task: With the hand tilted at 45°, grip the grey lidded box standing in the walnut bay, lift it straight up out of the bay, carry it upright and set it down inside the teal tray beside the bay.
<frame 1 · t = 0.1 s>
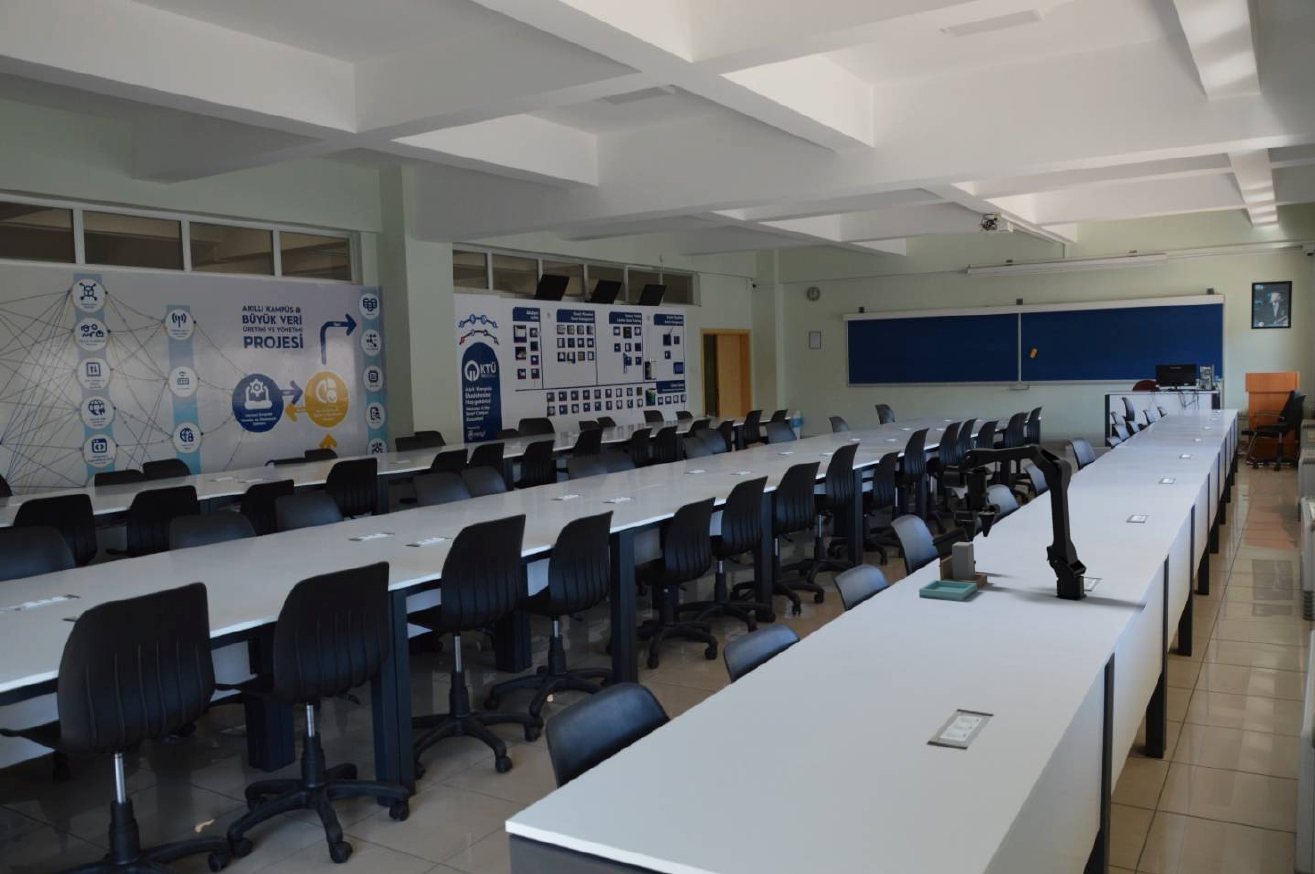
hand: (978, 539, 301), 15 cm above the table, tool pointing down, fingers open, 9 cm apart
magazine: (954, 572, 324), on the table
teal tray: (948, 594, 294), on the table
grey lidded box: (964, 584, 305), resting in walnut bay
walnut bay: (964, 584, 305), on the table
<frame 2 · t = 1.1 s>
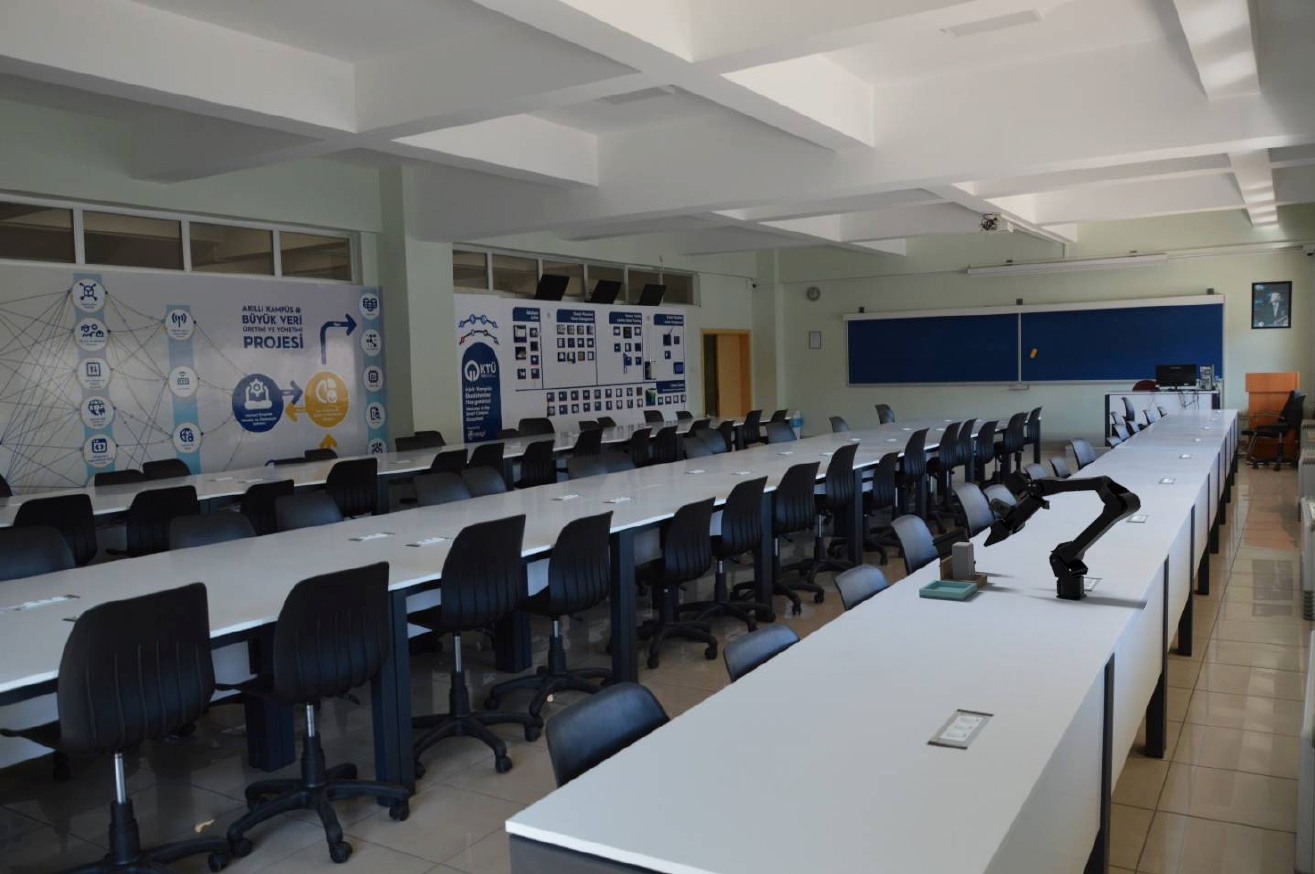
hand: (989, 543, 299), 14 cm above the table, tool tilted 45°, fingers open, 9 cm apart
nothing on the table moved.
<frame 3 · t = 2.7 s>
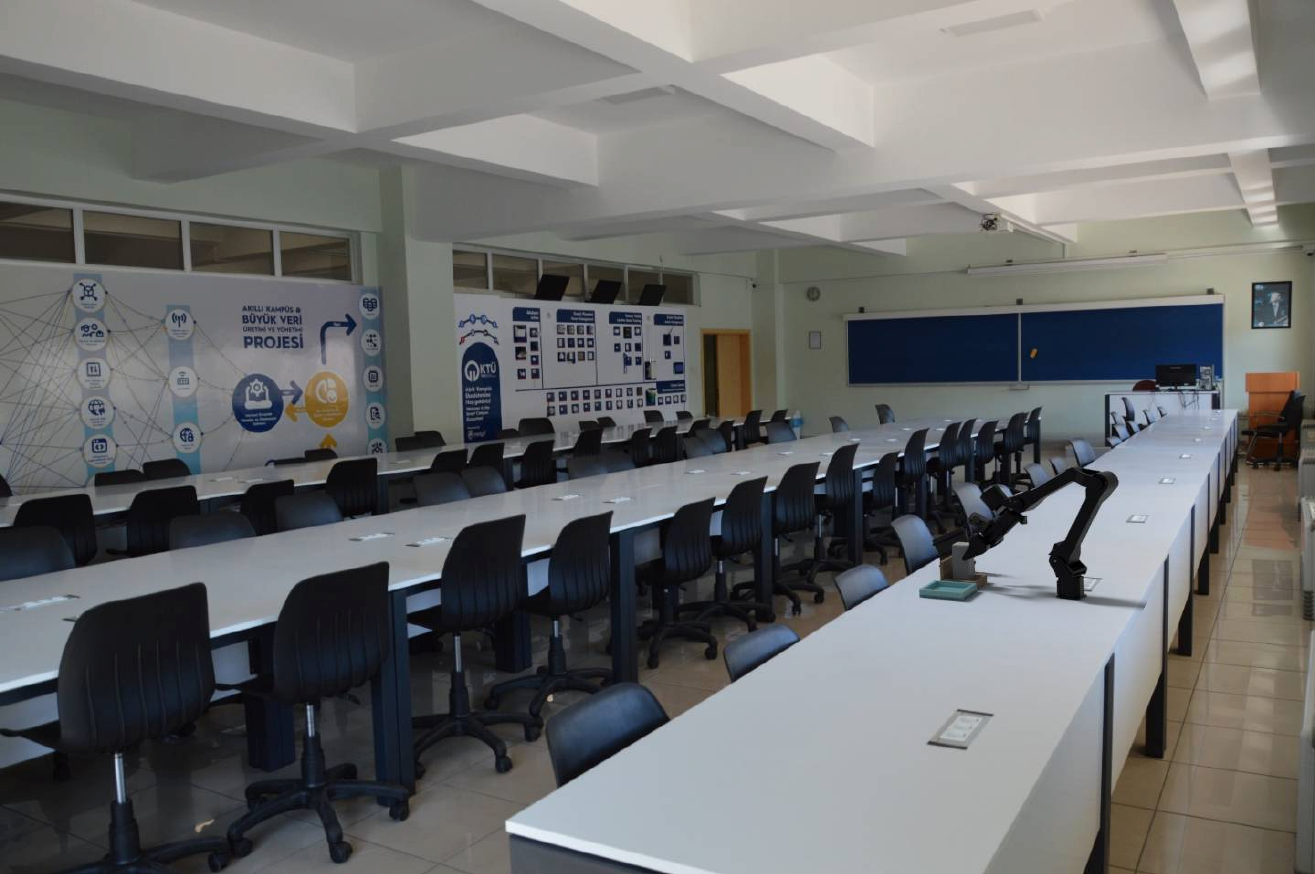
hand: (967, 556, 303), 9 cm above the table, tool tilted 45°, fingers open, 9 cm apart
nothing on the table moved.
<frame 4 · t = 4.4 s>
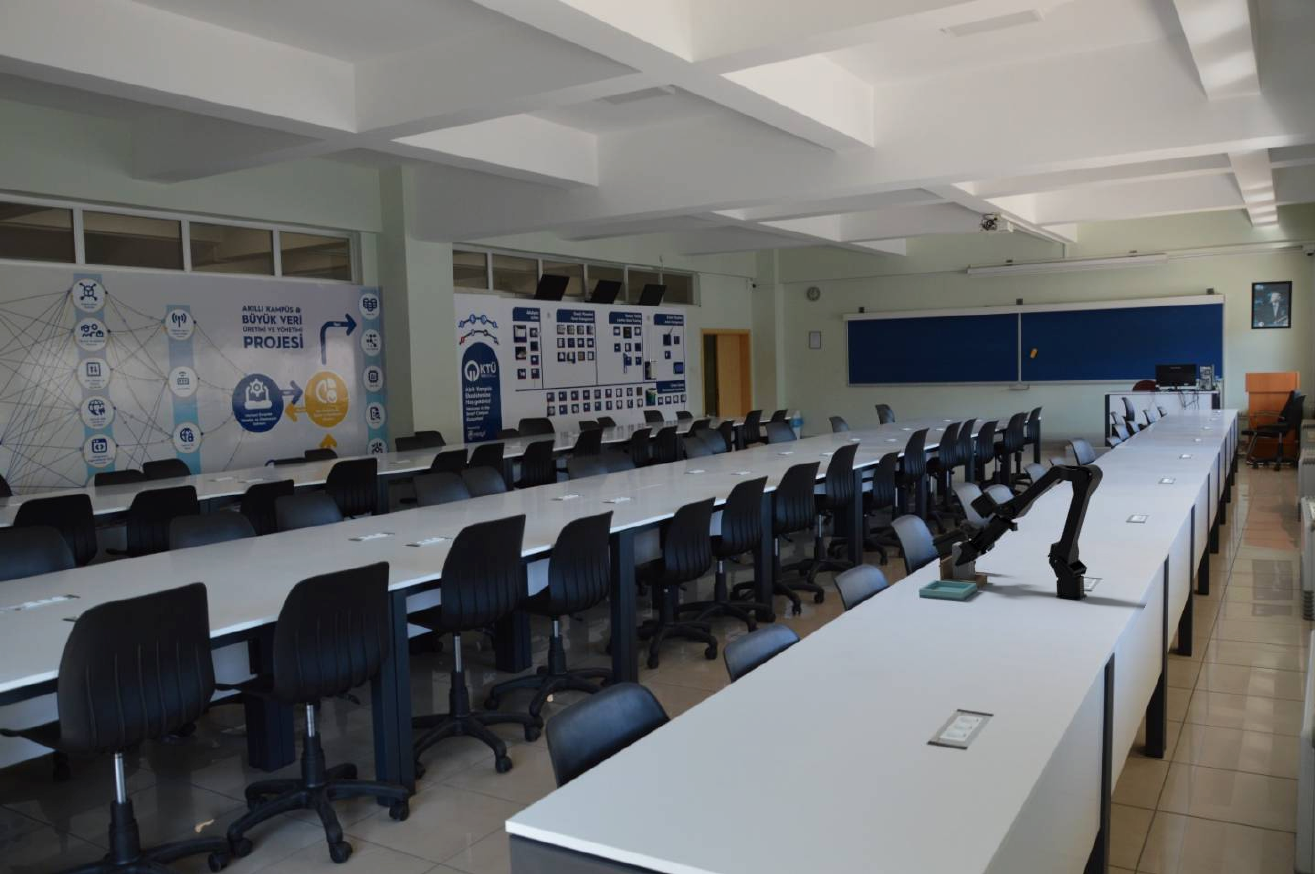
hand: (958, 563, 305), 7 cm above the table, tool tilted 45°, fingers closed on grey lidded box, 5 cm apart
grey lidded box: (964, 584, 305), resting in walnut bay, touching gripper
everything else where it was.
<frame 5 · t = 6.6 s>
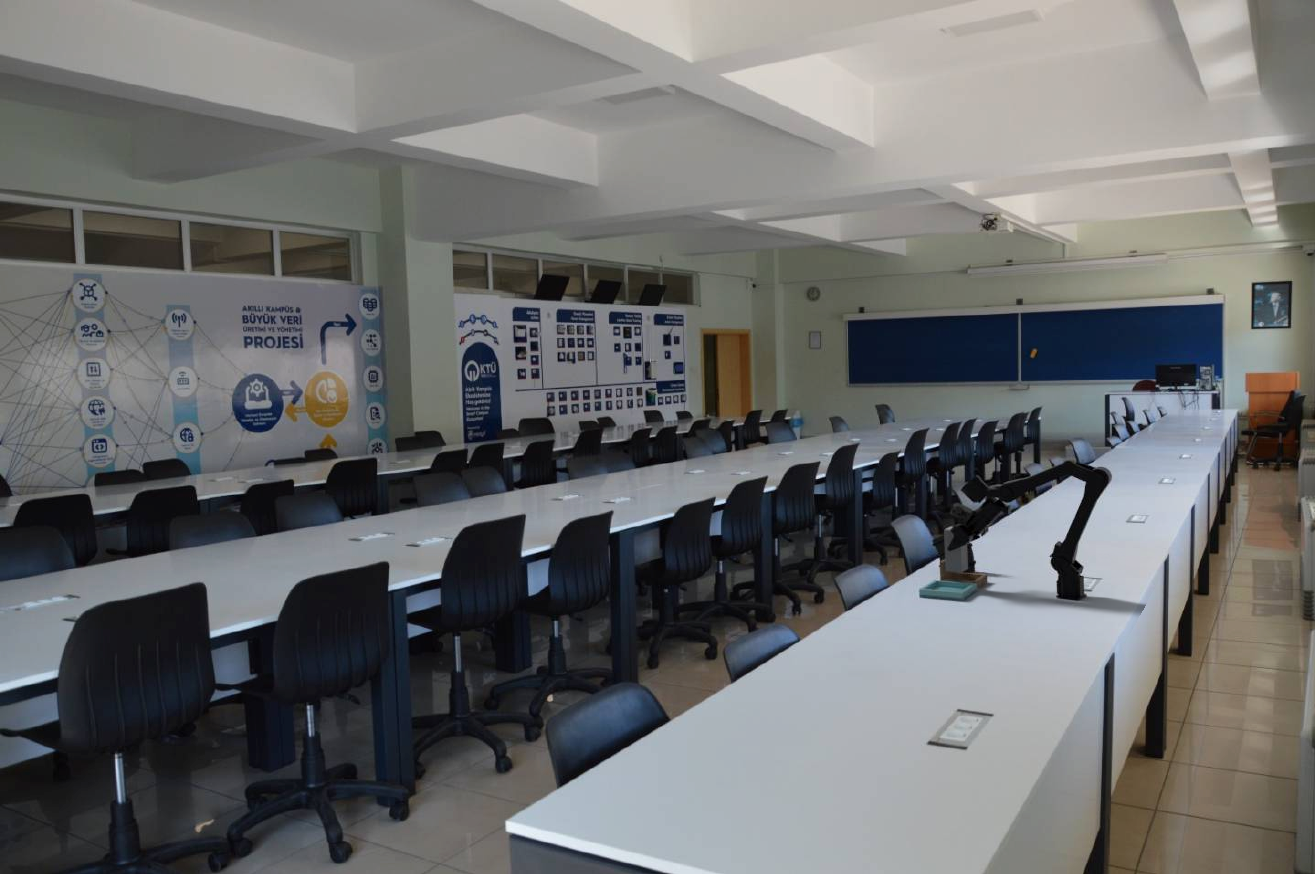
hand: (951, 548, 300), 12 cm above the table, tool tilted 45°, fingers closed on grey lidded box, 5 cm apart
grey lidded box: (956, 569, 300), point 6 cm above the table, touching gripper
everything else where it was.
when the fingers open (9 cm above the table, at t = 8.9 s): grey lidded box drops 1 cm, resting on teal tray.
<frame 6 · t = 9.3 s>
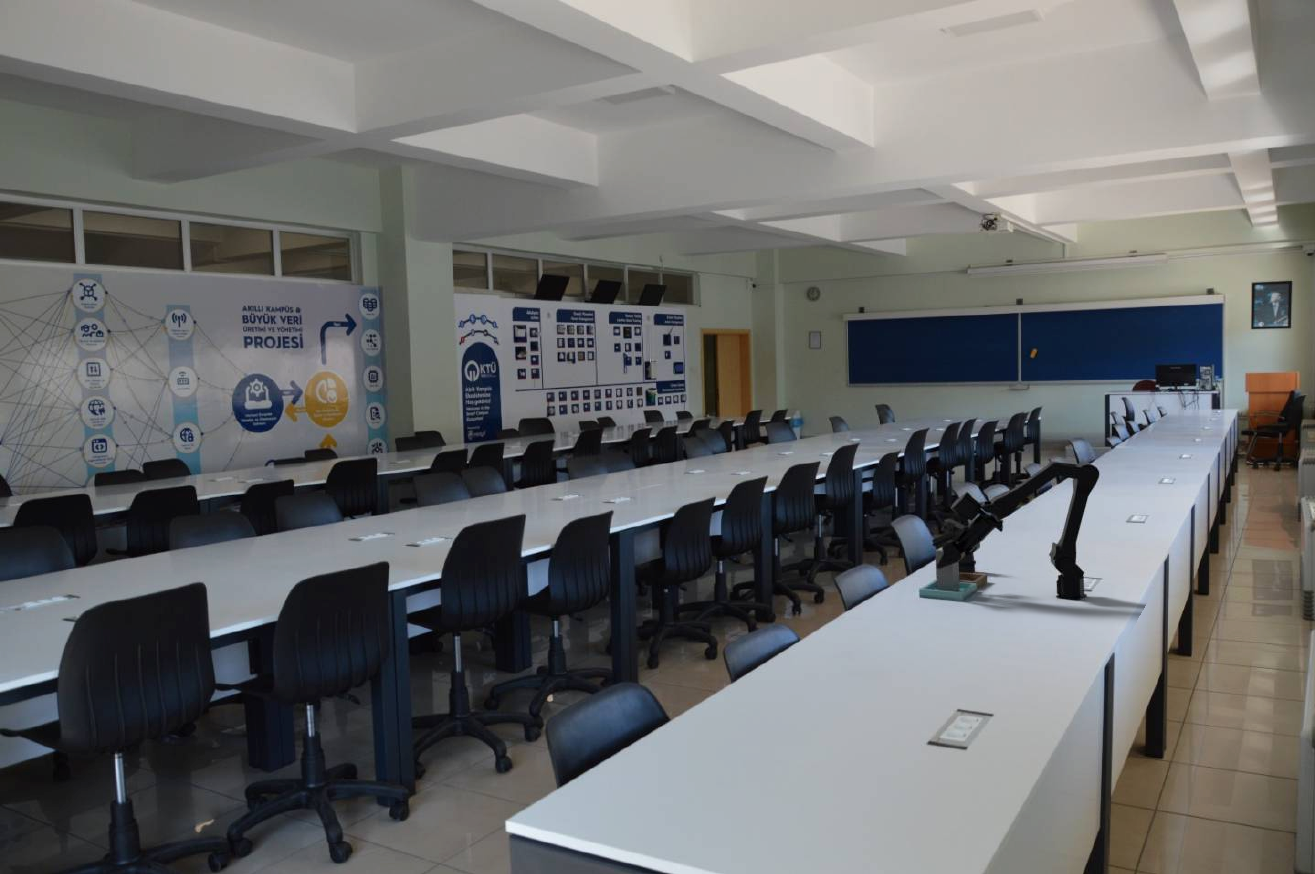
hand: (942, 564, 294), 9 cm above the table, tool tilted 45°, fingers open, 9 cm apart
grey lidded box: (948, 591, 294), point 1 cm above the table, touching teal tray
everything else where it was.
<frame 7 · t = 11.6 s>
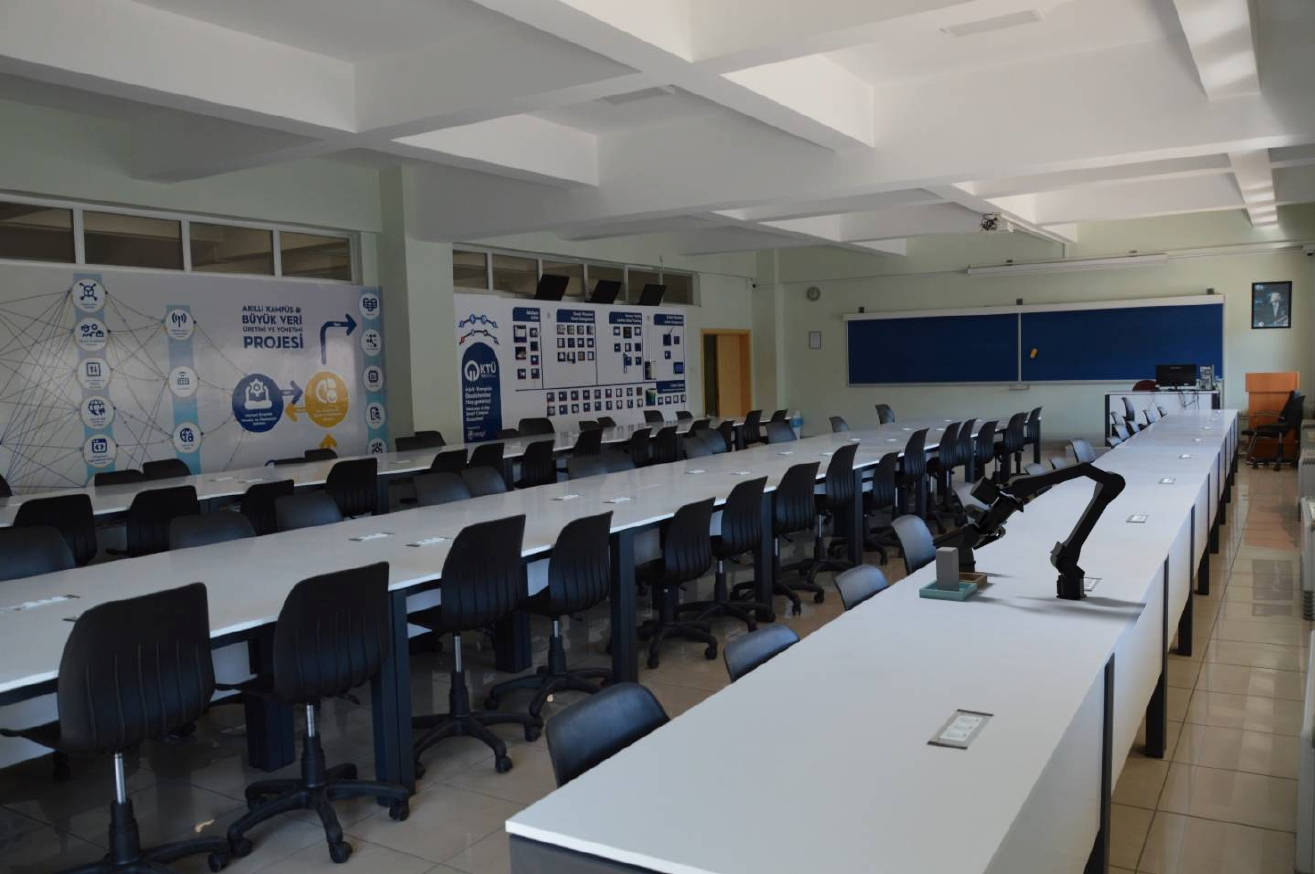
hand: (966, 550, 292), 13 cm above the table, tool tilted 40°, fingers open, 9 cm apart
nothing on the table moved.
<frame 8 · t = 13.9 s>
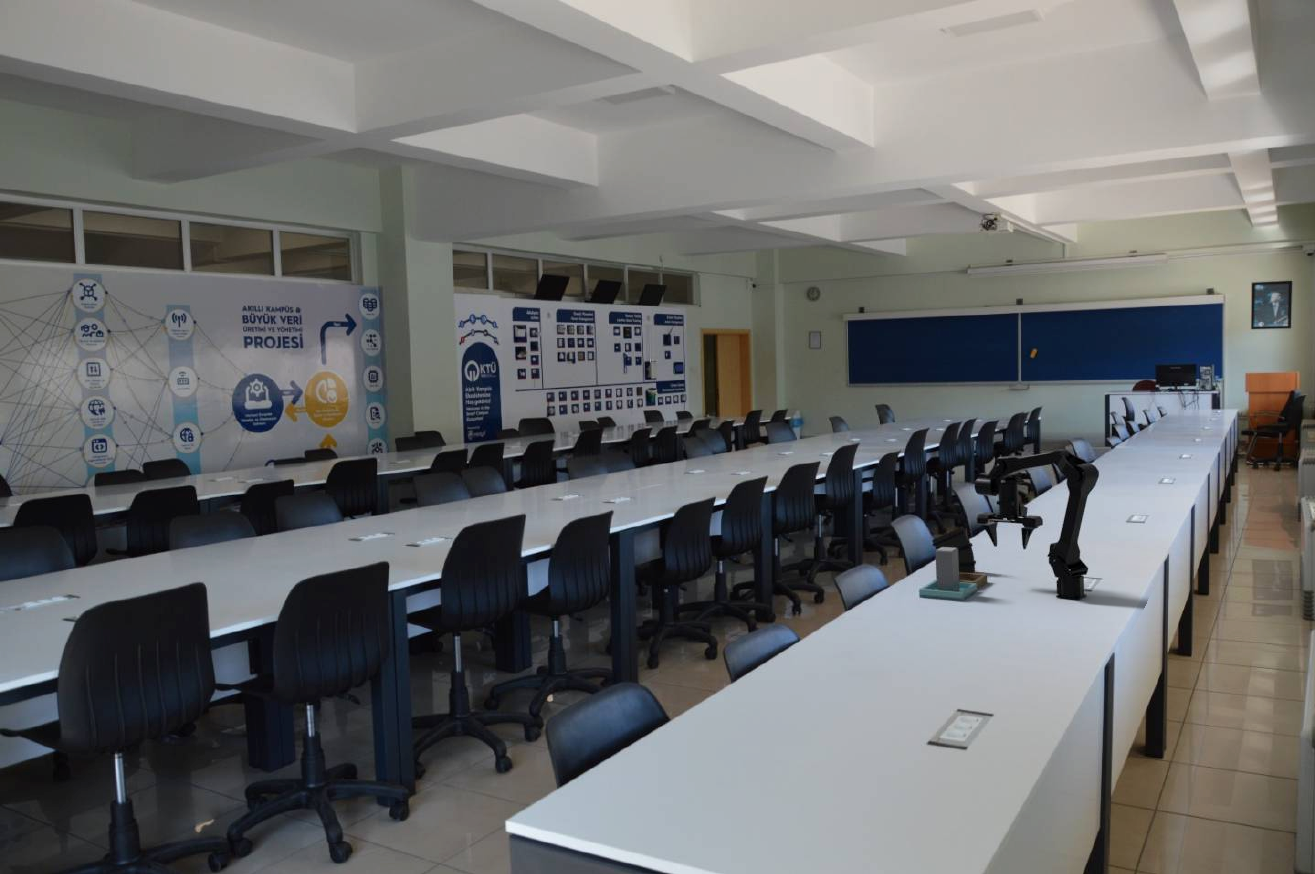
hand: (1010, 547, 298), 12 cm above the table, tool pointing down, fingers open, 9 cm apart
nothing on the table moved.
at the end: grey lidded box inside the target area on the teal tray (0.0 cm from its centre), point 0.8 cm above the teal tray's base; grey lidded box tilted 0°; the gripper is holding nothing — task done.
